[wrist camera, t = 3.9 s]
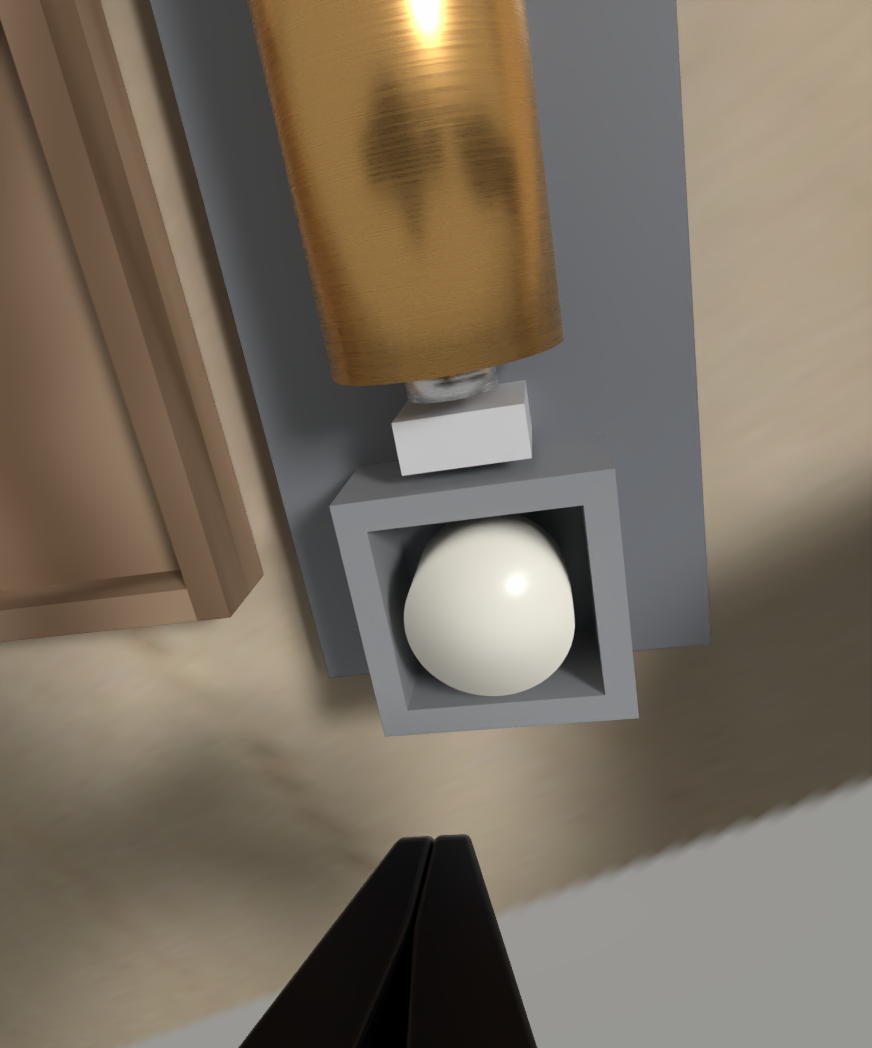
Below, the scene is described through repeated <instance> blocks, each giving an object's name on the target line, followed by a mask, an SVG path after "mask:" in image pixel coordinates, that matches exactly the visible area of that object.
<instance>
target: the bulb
mask: <svg viewBox="0 0 872 1048" xmlns="http://www.w3.org/2000/svg"><path fill="white" fill-rule="evenodd" d="M404 627H405V633H406V636H407V640H408V643H409V645H410V647H411V649H412V651H413V653H414V654H415V656H416V658H417V659H418V660H419V662H420V663H421V664H422V665H423V667H424V668H425V669H426V670H427V671H429V672H430V673H431V674H432V675H433V676H434V677H436V678H437V679H438V680H440V681H442V682H443V683H445V684H447V685H448V686H451V687H453V688H455V689H457V690H460V691H463V692H466V693H470V694H475V695H482V696H504V695H511V694H515V693H519V692H522V691H525V690H527V689H530V688H532V687H534V686H536V685H538V684H540V683H541V682H543V681H544V680H545V679H547V678H548V677H549V676H551V675H552V674H553V673H554V672H555V671H556V670H557V669H558V667H559V666H560V665H561V664H562V662H563V661H564V659H565V658H566V656H567V654H568V652H569V650H570V647H571V645H572V641H573V637H574V629H575V619H574V608H573V599H572V590H571V581H570V573H569V568H568V563H567V561H566V558H565V555H564V553H563V551H562V550H561V548H560V546H559V545H558V543H557V542H556V541H555V539H554V538H553V537H552V536H551V535H550V534H549V533H548V532H547V531H546V530H545V529H543V528H542V527H541V526H540V525H538V524H536V523H535V522H533V521H532V520H529V519H527V518H525V517H523V516H520V515H517V514H508V515H500V516H492V517H484V518H476V519H468V520H460V521H452V522H449V523H447V524H446V525H444V526H443V527H442V528H441V529H440V530H438V531H437V532H436V533H435V535H434V536H433V537H432V538H431V539H430V541H429V542H428V544H427V545H426V547H425V549H424V551H423V553H422V555H421V558H420V561H419V564H418V567H417V570H416V573H415V576H414V578H413V581H412V584H411V587H410V590H409V593H408V596H407V599H406V603H405V609H404Z"/></svg>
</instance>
